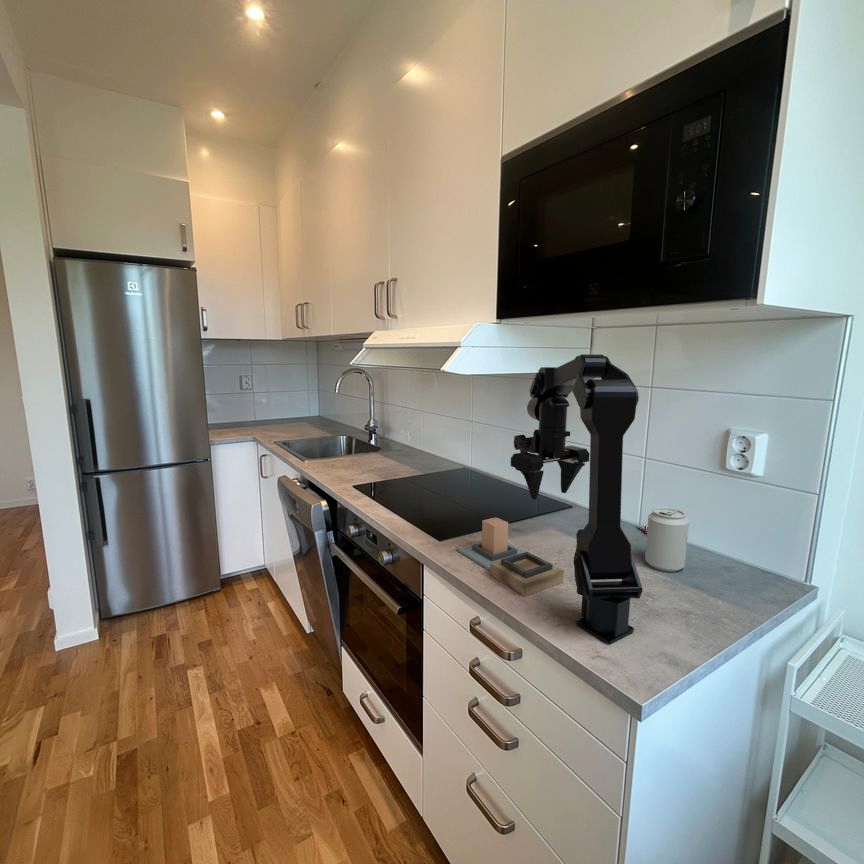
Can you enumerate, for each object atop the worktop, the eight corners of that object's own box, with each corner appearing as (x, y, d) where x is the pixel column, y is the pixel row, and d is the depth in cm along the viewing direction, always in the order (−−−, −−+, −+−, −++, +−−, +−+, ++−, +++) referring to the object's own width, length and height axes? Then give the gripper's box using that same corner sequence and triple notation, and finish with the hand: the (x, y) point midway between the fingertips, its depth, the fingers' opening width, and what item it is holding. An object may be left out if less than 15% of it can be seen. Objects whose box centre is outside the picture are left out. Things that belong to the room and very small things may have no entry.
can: (636, 560, 98) (640, 507, 96) (662, 555, 100) (667, 503, 98) (665, 576, 91) (670, 518, 89) (692, 570, 93) (698, 514, 92)
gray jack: (533, 558, 99) (533, 551, 98) (490, 571, 92) (490, 564, 92) (497, 539, 109) (497, 533, 108) (456, 550, 102) (456, 543, 102)
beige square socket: (563, 582, 88) (564, 565, 87) (525, 596, 83) (525, 578, 82) (526, 563, 96) (527, 547, 96) (489, 574, 91) (490, 558, 90)
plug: (507, 553, 100) (508, 522, 99) (493, 557, 98) (494, 526, 97) (495, 546, 103) (496, 517, 102) (481, 550, 101) (482, 520, 100)
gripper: (554, 419, 109) (551, 481, 112) (494, 424, 99) (492, 493, 102) (592, 424, 100) (588, 493, 102) (530, 431, 90) (527, 506, 93)
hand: (549, 495), depth 100 cm, fingers open, 9 cm apart
